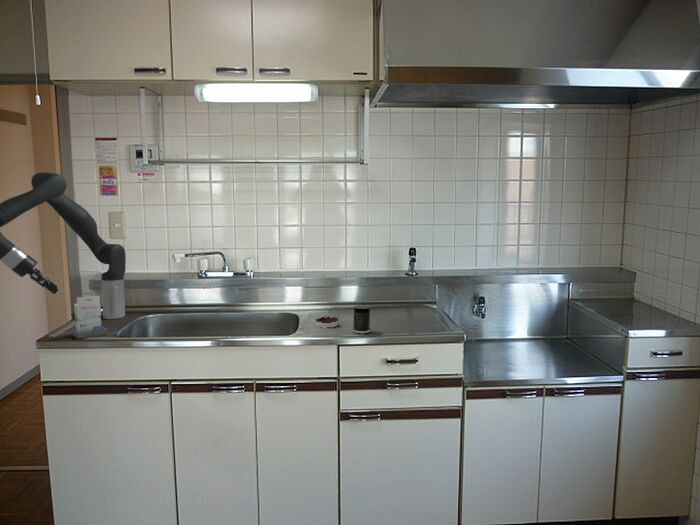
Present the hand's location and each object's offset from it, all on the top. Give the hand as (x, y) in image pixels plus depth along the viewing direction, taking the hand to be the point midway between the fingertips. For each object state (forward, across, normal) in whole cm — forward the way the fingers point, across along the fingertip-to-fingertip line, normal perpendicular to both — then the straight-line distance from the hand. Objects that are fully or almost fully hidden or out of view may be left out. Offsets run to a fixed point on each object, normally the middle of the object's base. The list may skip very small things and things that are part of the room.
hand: (56, 290), depth 199 cm
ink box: (+20, 0, +5) cm, 20 cm away
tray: (+20, 0, +5) cm, 21 cm away
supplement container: (+88, -46, -62) cm, 118 cm away
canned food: (+84, -28, -58) cm, 106 cm away
